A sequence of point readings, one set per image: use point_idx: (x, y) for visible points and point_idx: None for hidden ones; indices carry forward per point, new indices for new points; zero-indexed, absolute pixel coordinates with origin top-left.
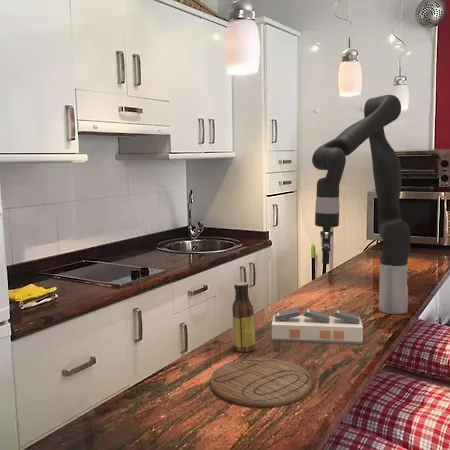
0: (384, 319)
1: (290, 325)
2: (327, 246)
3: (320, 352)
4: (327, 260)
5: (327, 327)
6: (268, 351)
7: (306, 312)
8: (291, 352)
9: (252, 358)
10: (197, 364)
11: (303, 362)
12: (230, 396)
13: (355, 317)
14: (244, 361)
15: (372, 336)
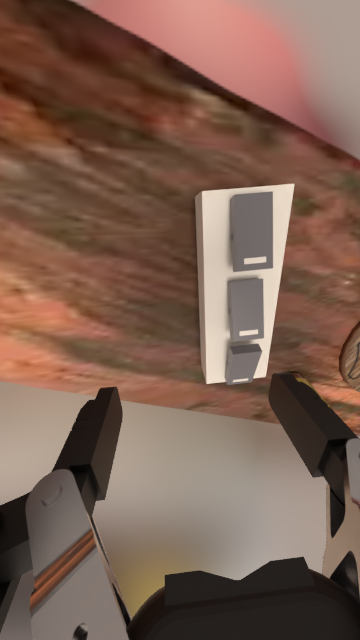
0: (58, 101)
1: (269, 348)
2: (84, 494)
3: (310, 278)
4: (316, 396)
5: (279, 277)
6: (298, 354)
7: (263, 334)
8: (305, 323)
9: (346, 368)
10: None
11: (348, 301)
12: None
13: (261, 205)
14: (354, 374)
15: (220, 159)
